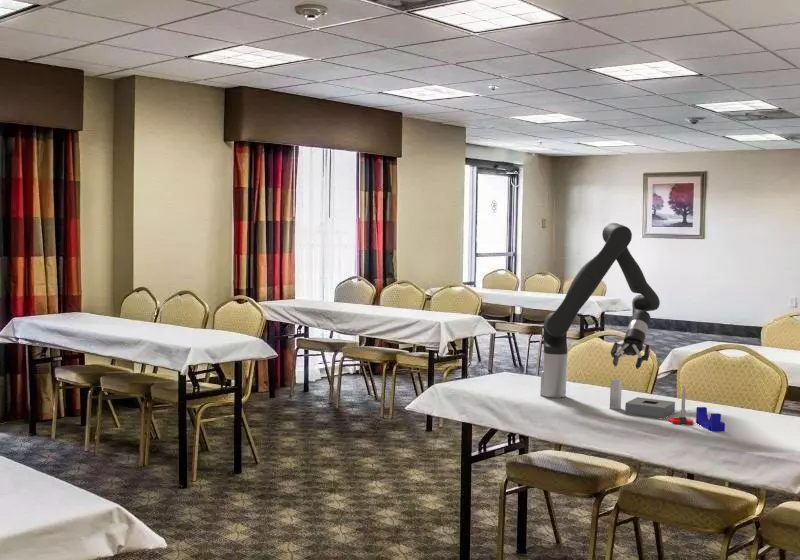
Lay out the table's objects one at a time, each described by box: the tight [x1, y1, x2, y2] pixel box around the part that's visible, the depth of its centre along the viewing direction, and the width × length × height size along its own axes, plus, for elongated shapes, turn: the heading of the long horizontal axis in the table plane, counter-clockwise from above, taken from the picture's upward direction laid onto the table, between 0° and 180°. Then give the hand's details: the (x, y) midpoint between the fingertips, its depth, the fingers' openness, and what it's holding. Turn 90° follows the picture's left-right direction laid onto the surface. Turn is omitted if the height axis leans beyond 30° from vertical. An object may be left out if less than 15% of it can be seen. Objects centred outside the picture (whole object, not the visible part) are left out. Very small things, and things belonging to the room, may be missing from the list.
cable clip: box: [695, 406, 726, 433], centre depth 296 cm, size 12×4×6 cm, turn 6°
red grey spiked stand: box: [667, 386, 694, 426], centre depth 304 cm, size 8×13×9 cm
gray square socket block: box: [624, 396, 676, 420], centre depth 317 cm, size 14×14×4 cm
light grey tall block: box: [609, 378, 623, 411], centre depth 324 cm, size 3×3×11 cm
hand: (625, 366), depth 333 cm, fingers open, 8 cm apart
